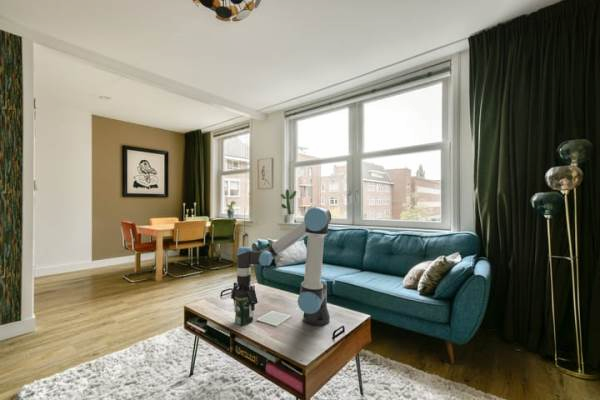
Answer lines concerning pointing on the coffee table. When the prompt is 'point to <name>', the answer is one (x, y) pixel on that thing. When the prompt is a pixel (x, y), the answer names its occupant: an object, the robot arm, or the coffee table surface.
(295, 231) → the robot arm
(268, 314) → the plate
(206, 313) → the coffee table surface
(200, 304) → the coffee table surface
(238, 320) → the coffee jar
